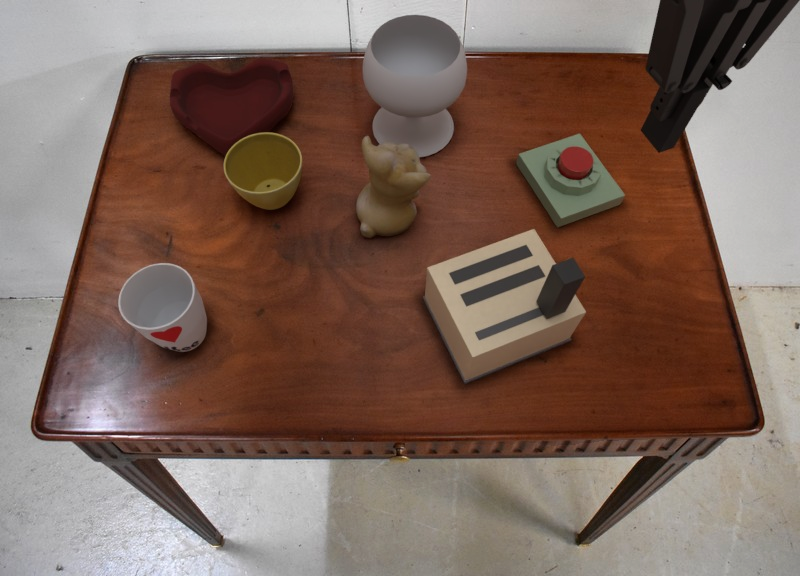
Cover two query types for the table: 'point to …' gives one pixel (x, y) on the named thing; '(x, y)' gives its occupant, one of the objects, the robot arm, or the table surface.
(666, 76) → the robot arm
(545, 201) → the control block
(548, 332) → the toaster
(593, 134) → the table surface
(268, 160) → the flower pot
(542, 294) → the toaster slider
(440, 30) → the chalice
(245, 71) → the ashtray
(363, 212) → the figurine
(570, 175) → the button
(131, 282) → the cup
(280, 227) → the table surface
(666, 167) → the table surface
